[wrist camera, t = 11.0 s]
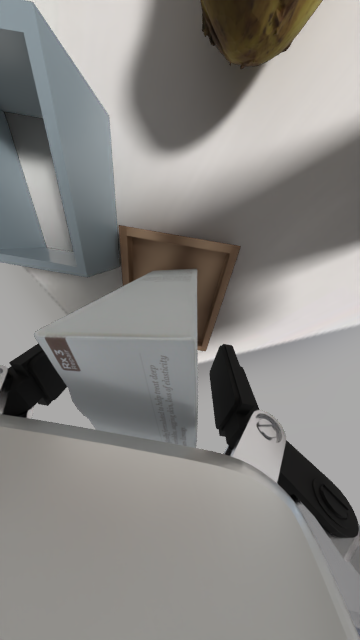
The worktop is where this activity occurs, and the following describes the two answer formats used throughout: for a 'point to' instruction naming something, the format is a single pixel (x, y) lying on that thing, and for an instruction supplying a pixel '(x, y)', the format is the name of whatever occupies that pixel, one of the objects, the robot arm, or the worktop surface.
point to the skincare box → (133, 357)
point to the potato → (254, 27)
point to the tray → (181, 267)
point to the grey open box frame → (54, 150)
